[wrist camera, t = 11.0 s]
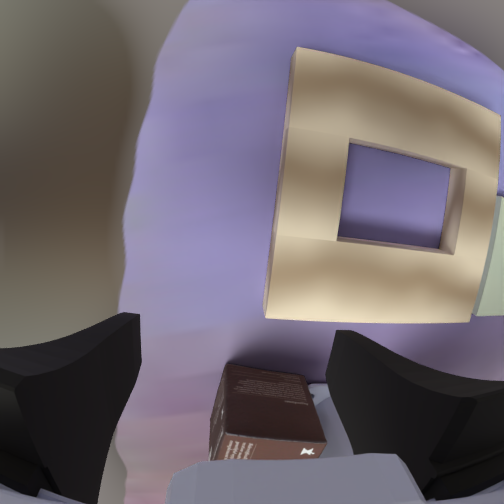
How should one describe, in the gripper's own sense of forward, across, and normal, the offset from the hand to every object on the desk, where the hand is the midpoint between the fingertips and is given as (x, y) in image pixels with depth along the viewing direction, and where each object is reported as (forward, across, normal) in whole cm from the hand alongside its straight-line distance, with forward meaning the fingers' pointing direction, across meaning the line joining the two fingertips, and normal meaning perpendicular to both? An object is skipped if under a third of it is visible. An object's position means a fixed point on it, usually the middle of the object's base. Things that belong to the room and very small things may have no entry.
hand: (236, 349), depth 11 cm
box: (+10, -2, +10) cm, 14 cm away
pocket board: (+9, -10, -6) cm, 15 cm away
